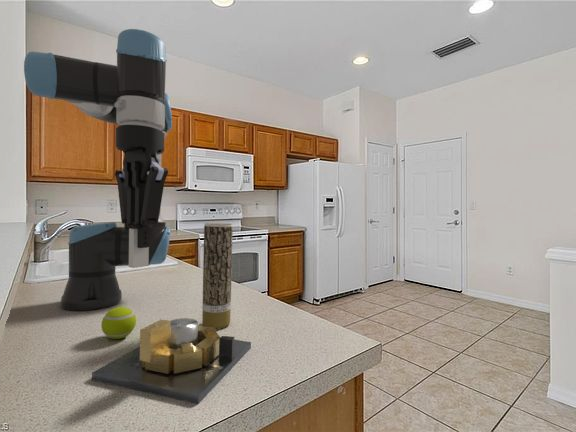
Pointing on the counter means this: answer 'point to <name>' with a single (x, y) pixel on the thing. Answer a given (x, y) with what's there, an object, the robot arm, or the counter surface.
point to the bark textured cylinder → (217, 275)
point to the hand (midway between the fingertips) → (138, 266)
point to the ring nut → (177, 360)
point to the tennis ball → (118, 322)
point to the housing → (172, 385)
